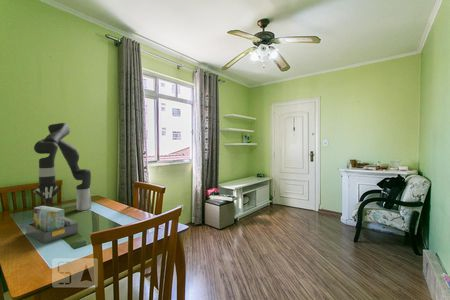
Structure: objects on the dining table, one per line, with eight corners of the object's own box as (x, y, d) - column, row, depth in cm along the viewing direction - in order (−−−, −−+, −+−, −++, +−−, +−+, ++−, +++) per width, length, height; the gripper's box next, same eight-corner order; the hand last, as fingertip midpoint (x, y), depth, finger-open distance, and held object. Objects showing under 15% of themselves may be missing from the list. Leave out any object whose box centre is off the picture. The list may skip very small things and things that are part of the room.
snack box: (65, 233, 124) (65, 208, 124) (55, 237, 119) (54, 211, 119) (43, 228, 132) (43, 205, 131) (32, 232, 127) (32, 207, 126)
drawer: (58, 224, 140) (58, 213, 140) (78, 233, 127) (78, 220, 127) (26, 233, 126) (25, 221, 126) (44, 244, 113) (44, 230, 113)
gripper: (57, 173, 131) (58, 200, 132) (30, 176, 120) (30, 206, 121) (63, 174, 128) (63, 202, 128) (35, 177, 116) (36, 208, 117)
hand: (47, 204), depth 124 cm, fingers closed
